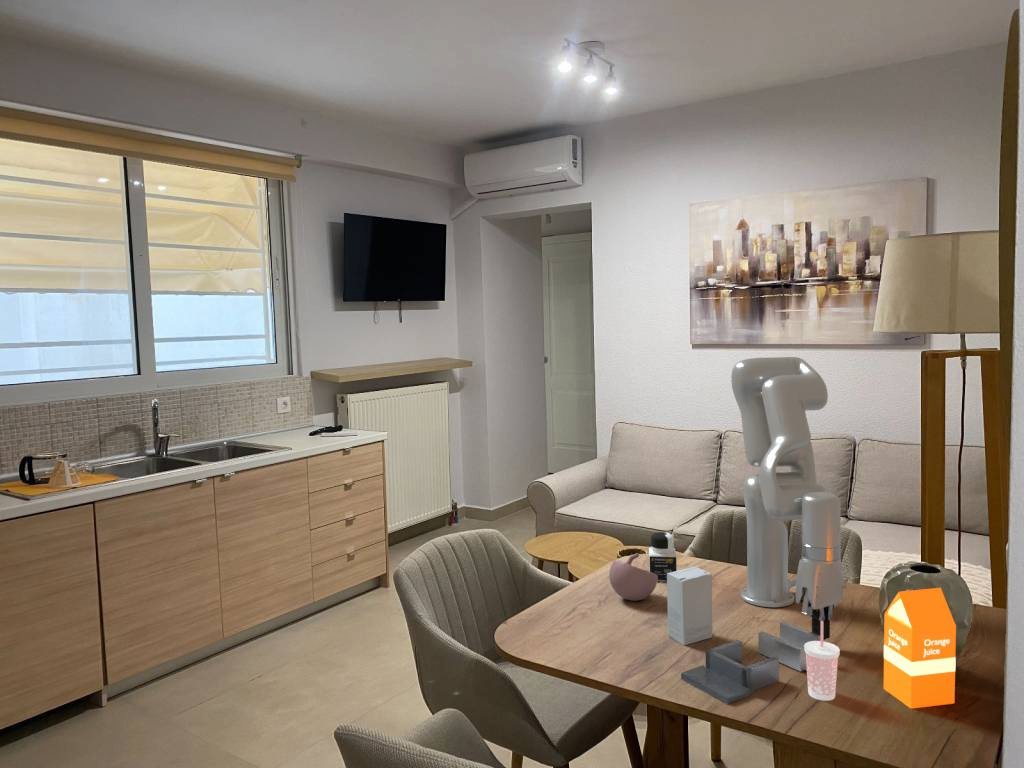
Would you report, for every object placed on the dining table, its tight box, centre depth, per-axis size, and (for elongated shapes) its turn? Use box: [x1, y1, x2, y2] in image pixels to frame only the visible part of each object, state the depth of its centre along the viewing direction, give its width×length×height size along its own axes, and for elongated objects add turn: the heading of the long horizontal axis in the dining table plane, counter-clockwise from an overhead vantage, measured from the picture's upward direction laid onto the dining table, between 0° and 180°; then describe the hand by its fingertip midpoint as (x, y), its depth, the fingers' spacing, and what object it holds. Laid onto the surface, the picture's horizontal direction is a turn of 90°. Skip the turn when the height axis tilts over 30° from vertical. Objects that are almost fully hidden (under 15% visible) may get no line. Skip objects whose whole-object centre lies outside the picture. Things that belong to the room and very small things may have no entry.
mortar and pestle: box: [608, 552, 658, 602], centre depth 189 cm, size 12×12×12 cm
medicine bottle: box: [648, 531, 678, 582], centre depth 205 cm, size 7×7×12 cm
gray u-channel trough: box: [758, 621, 821, 672], centre depth 154 cm, size 7×12×5 cm, turn 31°
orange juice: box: [883, 587, 957, 709], centre depth 137 cm, size 8×9×20 cm
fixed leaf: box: [680, 639, 780, 705], centre depth 146 cm, size 15×12×4 cm
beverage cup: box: [804, 621, 841, 702], centre depth 139 cm, size 6×6×14 cm
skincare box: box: [666, 565, 713, 646], centre depth 165 cm, size 8×6×15 cm
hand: (820, 636), depth 159 cm, fingers closed
